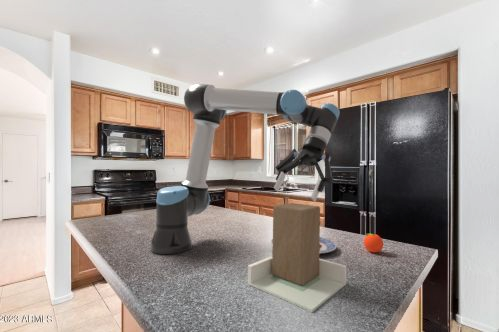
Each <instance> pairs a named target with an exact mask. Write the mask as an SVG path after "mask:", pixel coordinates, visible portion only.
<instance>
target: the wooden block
mask: <svg viewBox="0 0 499 332" xmlns="http://www.w3.org/2000/svg"><path fill="white" fill-rule="evenodd" d="M272 209H273V211H272V218H273V219H272V239H273V244H272V255H271V256H272V275H273V276H276V277H279V278H281V279H284V280H287V281H290V282H292V283H295V284H298V285H301V286H303V285H305V284H306V283H308V282H309V281H311V280H312V279H314V278H315V277H317V276H318V275H319V258H320V254H319V244H320V237H321V235H320V234H321V233H320V232H321V231H320V230H321V228H320V227H321V226H320V225H321V224H320V223H321V207H320V206H319V205H311V204H303V203H292V202H291V203H289V202H288V203H285V204H283V203H282V204H277V205H273V207H272Z"/></svg>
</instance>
